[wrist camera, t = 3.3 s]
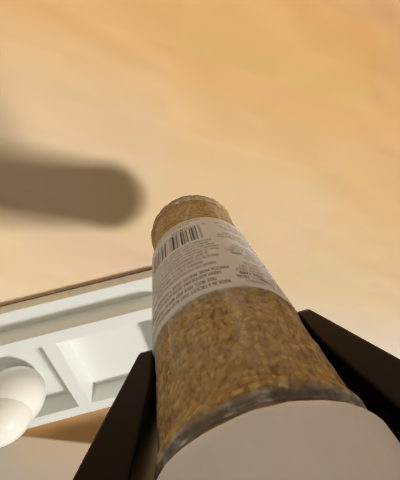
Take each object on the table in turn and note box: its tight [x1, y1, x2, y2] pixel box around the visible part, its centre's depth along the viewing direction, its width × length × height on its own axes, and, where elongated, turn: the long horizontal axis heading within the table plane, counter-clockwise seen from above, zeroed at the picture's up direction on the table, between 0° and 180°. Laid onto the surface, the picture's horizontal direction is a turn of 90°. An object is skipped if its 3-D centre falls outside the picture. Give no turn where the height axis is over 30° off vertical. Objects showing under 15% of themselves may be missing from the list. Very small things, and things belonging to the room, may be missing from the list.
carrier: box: [0, 270, 152, 429], centre depth 23 cm, size 12×18×3 cm, turn 101°
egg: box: [0, 366, 46, 448], centre depth 20 cm, size 4×4×5 cm
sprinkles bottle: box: [151, 195, 400, 480], centre depth 10 cm, size 5×5×14 cm
